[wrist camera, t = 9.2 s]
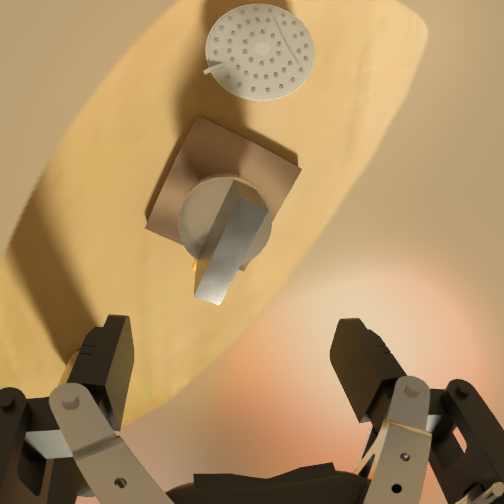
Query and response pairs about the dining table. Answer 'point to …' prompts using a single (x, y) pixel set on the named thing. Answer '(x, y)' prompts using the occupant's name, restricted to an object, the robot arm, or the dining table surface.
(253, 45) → the showerhead
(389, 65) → the dining table surface
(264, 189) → the post base
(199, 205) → the knob
